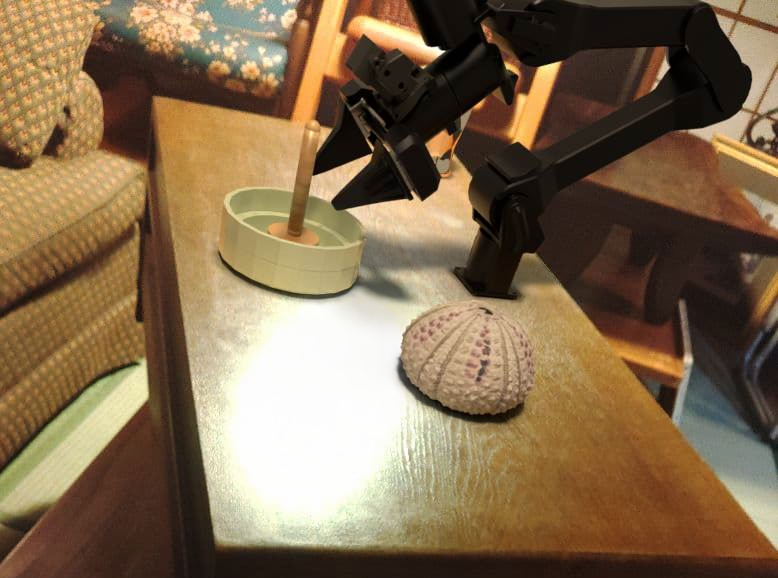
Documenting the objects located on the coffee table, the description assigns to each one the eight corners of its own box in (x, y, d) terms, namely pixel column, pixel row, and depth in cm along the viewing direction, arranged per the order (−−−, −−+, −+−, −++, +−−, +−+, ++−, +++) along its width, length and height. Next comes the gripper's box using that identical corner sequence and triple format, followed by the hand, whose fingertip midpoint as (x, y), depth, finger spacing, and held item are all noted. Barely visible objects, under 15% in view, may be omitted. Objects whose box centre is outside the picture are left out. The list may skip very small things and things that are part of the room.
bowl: (372, 304, 80) (385, 255, 77) (233, 293, 74) (240, 239, 71) (332, 243, 90) (342, 197, 87) (207, 228, 84) (212, 178, 81)
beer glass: (449, 182, 121) (480, 79, 111) (408, 168, 121) (436, 64, 111) (454, 171, 126) (484, 72, 116) (415, 158, 126) (442, 58, 116)
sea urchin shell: (548, 402, 74) (582, 330, 69) (472, 443, 65) (505, 363, 60) (447, 338, 79) (472, 266, 74) (364, 367, 70) (386, 287, 65)
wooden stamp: (319, 259, 84) (347, 123, 75) (307, 277, 80) (335, 135, 71) (271, 244, 84) (293, 105, 75) (257, 261, 80) (279, 116, 70)
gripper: (377, -12, 75) (255, 90, 77) (448, 37, 63) (300, 155, 65) (425, 90, 83) (313, 178, 86) (495, 150, 71) (362, 250, 74)
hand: (320, 188), depth 77 cm, fingers open, 9 cm apart
